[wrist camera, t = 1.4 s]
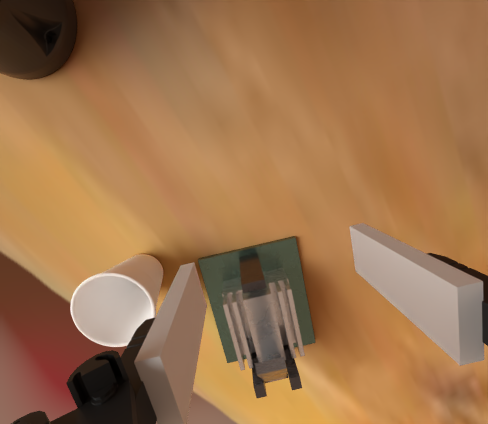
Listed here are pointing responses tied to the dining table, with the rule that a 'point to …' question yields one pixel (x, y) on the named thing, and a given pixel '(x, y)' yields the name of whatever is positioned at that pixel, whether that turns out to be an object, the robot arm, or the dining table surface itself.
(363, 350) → the dining table surface
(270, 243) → the green circuit board
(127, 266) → the cup
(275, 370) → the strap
